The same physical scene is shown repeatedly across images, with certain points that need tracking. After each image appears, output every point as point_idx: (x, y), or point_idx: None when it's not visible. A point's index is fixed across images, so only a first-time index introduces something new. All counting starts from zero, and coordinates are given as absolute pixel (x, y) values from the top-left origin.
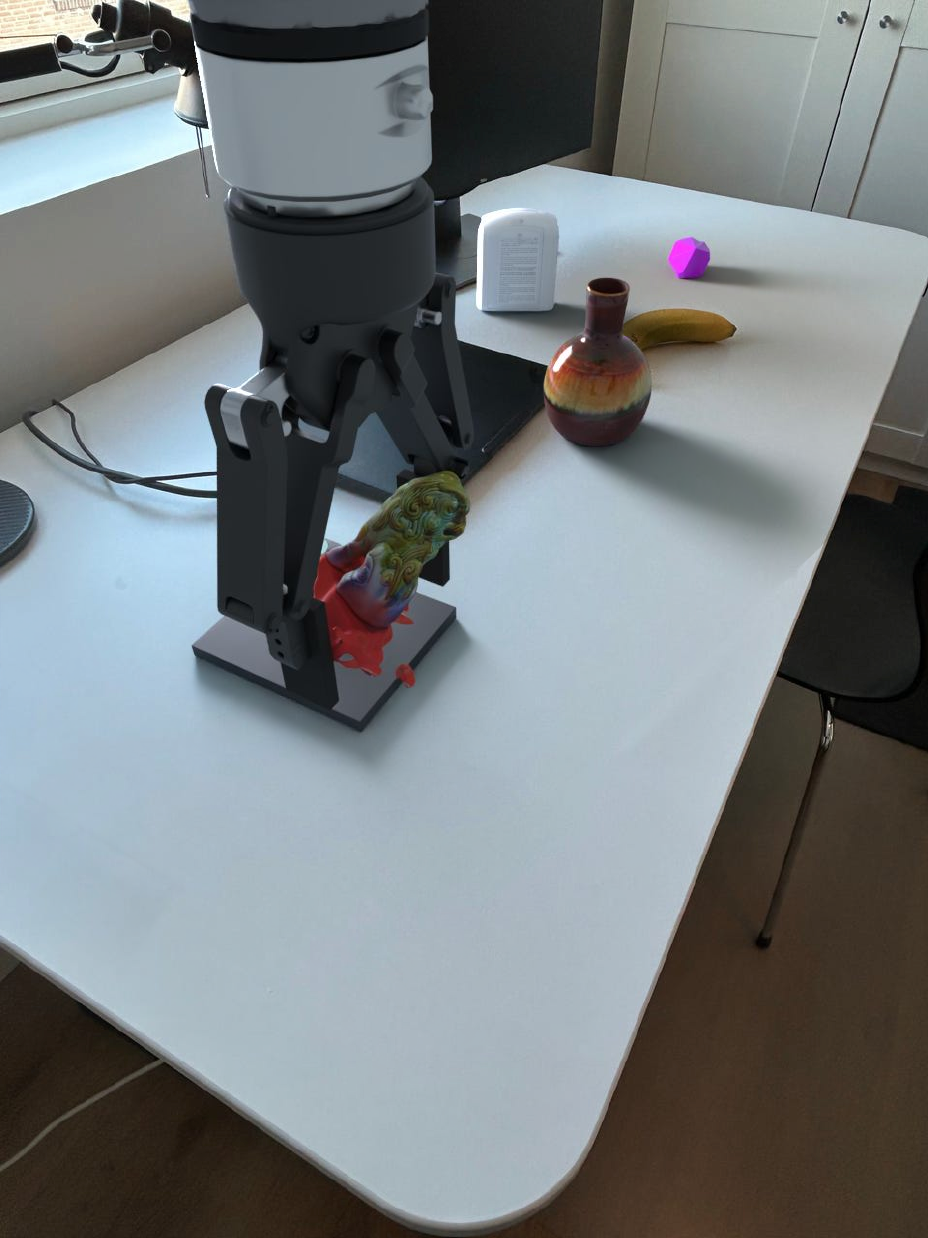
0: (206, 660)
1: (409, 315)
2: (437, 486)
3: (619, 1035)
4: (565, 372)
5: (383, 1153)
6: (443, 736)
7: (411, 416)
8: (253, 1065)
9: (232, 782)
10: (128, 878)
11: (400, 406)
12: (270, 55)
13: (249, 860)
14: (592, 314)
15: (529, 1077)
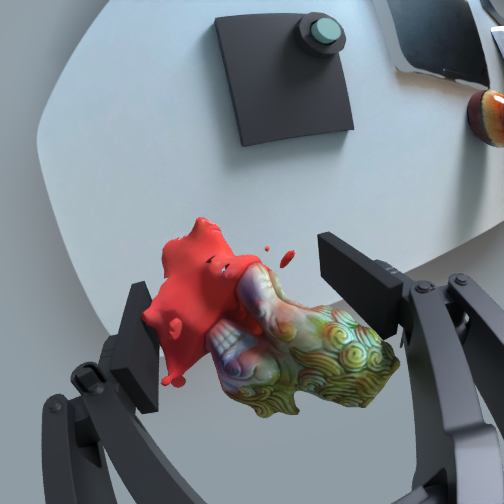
0: (216, 29)
1: None
2: (364, 400)
3: None
4: (498, 107)
5: (110, 318)
6: (273, 187)
7: (417, 446)
8: (84, 262)
9: (160, 118)
10: (83, 137)
11: (421, 461)
12: None
13: (133, 172)
14: None
15: None
